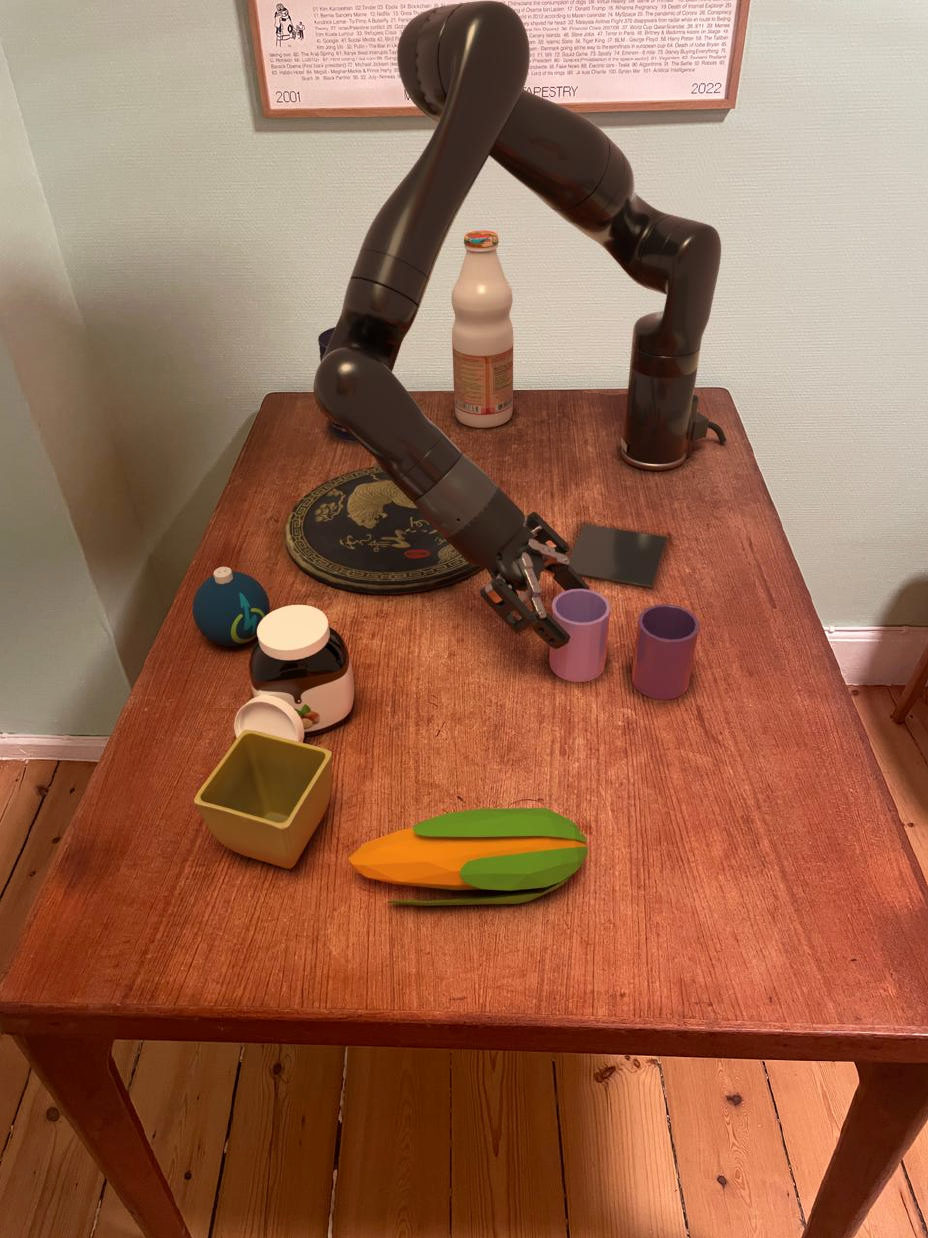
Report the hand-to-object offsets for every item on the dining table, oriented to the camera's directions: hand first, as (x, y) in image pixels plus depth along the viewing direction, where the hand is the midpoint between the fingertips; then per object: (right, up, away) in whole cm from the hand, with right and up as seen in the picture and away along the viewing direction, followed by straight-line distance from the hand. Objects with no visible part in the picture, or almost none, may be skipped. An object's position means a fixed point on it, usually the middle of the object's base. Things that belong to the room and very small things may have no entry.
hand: (573, 618), depth 94 cm
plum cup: (+9, -7, +1) cm, 11 cm away
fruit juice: (-8, +33, +51) cm, 61 cm away
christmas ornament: (-38, -2, +9) cm, 39 cm away
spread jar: (-28, -11, -2) cm, 31 cm away
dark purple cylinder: (-28, +30, +49) cm, 64 cm away
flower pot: (-28, -20, -13) cm, 37 cm away
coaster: (+8, +8, +19) cm, 22 cm away
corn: (-11, -23, -17) cm, 31 cm away
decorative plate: (-20, +12, +26) cm, 35 cm away
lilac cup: (+1, -5, +4) cm, 6 cm away
